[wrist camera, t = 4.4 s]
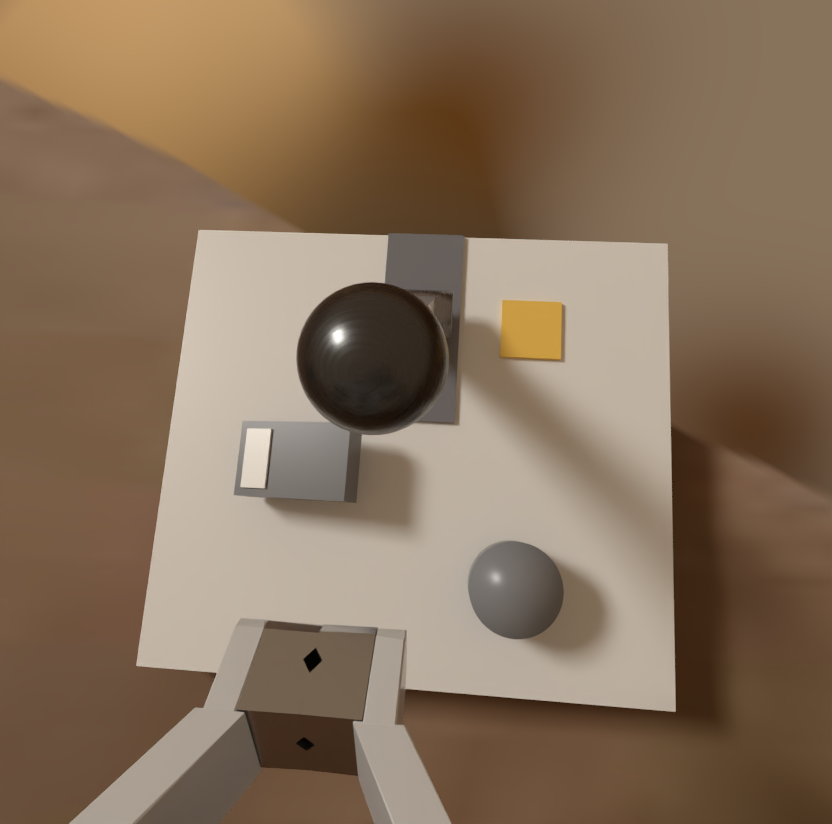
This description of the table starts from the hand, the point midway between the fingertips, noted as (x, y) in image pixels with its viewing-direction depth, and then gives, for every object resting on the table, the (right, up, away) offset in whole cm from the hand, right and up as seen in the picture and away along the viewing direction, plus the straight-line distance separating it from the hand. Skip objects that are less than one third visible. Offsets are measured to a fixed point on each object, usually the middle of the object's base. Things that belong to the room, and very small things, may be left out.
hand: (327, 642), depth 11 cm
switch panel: (+2, +2, +16) cm, 16 cm away
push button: (+5, -2, +11) cm, 12 cm away
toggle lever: (+2, +8, +12) cm, 15 cm away
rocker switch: (-3, +2, +12) cm, 12 cm away
